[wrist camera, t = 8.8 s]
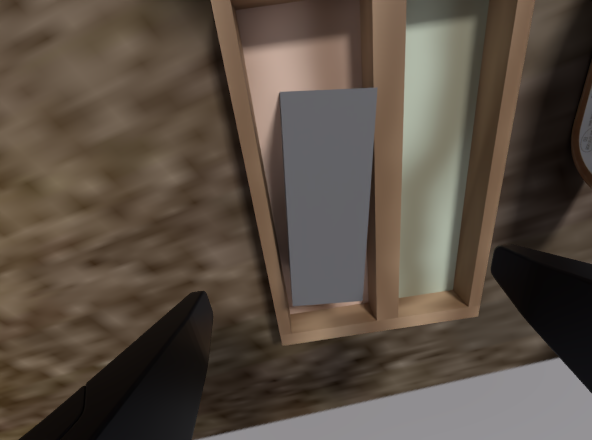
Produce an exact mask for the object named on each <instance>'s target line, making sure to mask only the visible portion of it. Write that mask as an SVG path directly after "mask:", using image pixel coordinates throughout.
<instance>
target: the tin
mask: <svg viewBox="0 0 592 440" xmlns="http://www.w3.org/2000/svg"><path fill="white" fill-rule="evenodd" d="M571 151H572V156H573V161H574V164H575V166H576V168H577V170H578V172H579V174H580V175H581V177H582V178H583V180H584V181H585V182H586V183H587V184H588V186H589V187H590V188H592V60H591V64H590V67H589V71H588V74H587V78H586V81H585V85H584V88H583V92H582V95H581V99H580V102H579V106H578V110H577V113H576V117H575V120H574V124H573V129H572V134H571Z"/></svg>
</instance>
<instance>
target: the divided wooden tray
mask: <svg viewBox="0 0 592 440" xmlns="http://www.w3.org/2000/svg"><path fill="white" fill-rule="evenodd" d="M534 4H535V0H211V5H212V9H213V14H214V19H215V24H216V29H217V33H218V38H219V43H220V48H221V53H222V57H223V62H224V67H225V72H226V77H227V82H228V86H229V91H230V96H231V101H232V106H233V110H234V115H235V120H236V125H237V130H238V134H239V139H240V144H241V149H242V154H243V158H244V163H245V168H246V173H247V178H248V183H249V187H250V192H251V197H252V202H253V207H254V211H255V216H256V221H257V226H258V231H259V235H260V240H261V245H262V250H263V255H264V260H265V264H266V269H267V274H268V279H269V284H270V288H271V293H272V298H273V303H274V308H275V312H276V317H277V322H278V327H279V332H280V337H281V341H282V346H284V345H291V344H297V343H304V342H311V341H317V340H324V339H331V338H337V337H344V336H351V335H357V334H364V333H371V332H377V331H384V330H390V329H397V328H404V327H410V326H417V325H424V324H430V323H437V322H444V321H450V320H457V319H464V318H470V317H477V316H478V313H479V308H480V302H481V297H482V291H483V286H484V280H485V275H486V269H487V264H488V258H489V253H490V247H491V242H492V236H493V231H494V225H495V220H496V214H497V208H498V203H499V197H500V192H501V186H502V181H503V175H504V170H505V164H506V159H507V153H508V148H509V142H510V137H511V131H512V126H513V120H514V115H515V109H516V104H517V98H518V93H519V87H520V81H521V76H522V70H523V65H524V59H525V54H526V48H527V43H528V37H529V32H530V26H531V21H532V15H533V10H534ZM377 87H378V89H377V103H376V117H375V132H374V146H373V160H372V175H371V189H370V203H369V217H368V232H367V246H366V260H365V274H364V289H363V301H355V302H342V303H330V304H317V305H304V306H293V304H292V291H291V279H290V266H289V250H288V233H287V217H286V200H285V184H284V167H283V151H282V134H281V118H280V101H279V93H280V92H287V91H309V90H332V89H354V88H377Z"/></svg>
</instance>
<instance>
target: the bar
mask: <svg viewBox="0 0 592 440" xmlns="http://www.w3.org/2000/svg"><path fill="white" fill-rule="evenodd" d="M377 89H378V87H377V88H354V89H332V90H309V91H287V92H280V93H279V101H280V118H281V134H282V151H283V167H284V184H285V200H286V217H287V233H288V250H289V266H290V279H291V291H292V304H293V306H304V305H317V304H330V303H342V302H355V301H363V289H364V274H365V260H366V246H367V232H368V217H369V203H370V189H371V175H372V160H373V146H374V132H375V117H376V103H377Z"/></svg>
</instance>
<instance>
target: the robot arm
mask: <svg viewBox="0 0 592 440" xmlns="http://www.w3.org/2000/svg"><path fill="white" fill-rule="evenodd" d="M491 273H492V275H493V277H494V278H495V280H496V281H497V283H498V284H499V285H500V287H501V288H502V289H503V291H504V292H505V293H506V295H507V296H508V297H509V299H510V300H511V301H512V303H513V304H514V305H515V307H516V308H517V309H518V311H519V312H520V313H521V314H522V316H523V317H524V318H525V319H526V321H527V322H528V323H529V324H530V325H531V326H532V327H533V329H534V330H535V331H536V332H537V333H538V334H539V335H540V336H541V337H542V339H543V340H544V341H545V342H546V343H547V344H548V345H549V346H550V347H551V349H552V350H553V351H554V352H555V353H556V354H557V355H558V356H559V357H560V359H561V360H562V361H563V362H564V363H565V364H566V365H567V366H568V367H569V369H570V370H571V371H572V372H573V373H574V374H575V375H576V376H577V377H578V379H579V380H580V381H581V382H582V383H583V384H584V385H585V386H586V387H587V389H588V390H589V391H590V392H591V393H592V264H589V263H585V262H581V261H577V260H573V259H569V258H565V257H561V256H557V255H553V254H549V253H545V252H541V251H537V250H533V249H529V248H525V247H521V246H517V245H513V244H507V245H500V246H497V247H496V248H495V249H494V253H493V258H492V264H491ZM212 325H213V311H212V308H211V305H210V302H209V299H208V296H207V294H206V292H205V291H198V292H192V293H190V294H189V295H188V296H187V297H185V298H184V299H183V300H182V301H181V302H180V303H178V304H177V305H176V306H175V307H174V308H173V309H171V310H170V311H169V312H168V313H167V314H166V315H165V316H163V317H162V318H161V319H160V320H159V321H158V322H156V323H155V324H154V325H153V326H152V327H151V328H150V329H148V330H147V331H146V332H145V333H144V334H143V335H141V336H140V337H139V338H138V339H137V340H136V341H134V342H133V343H132V344H131V345H130V346H129V347H128V348H126V349H125V350H124V351H123V352H122V353H121V354H119V355H118V356H117V357H116V358H115V359H114V360H112V361H111V362H110V363H109V364H108V365H107V366H106V367H104V368H103V369H102V370H101V371H100V372H99V373H97V374H96V375H95V376H94V377H93V378H92V379H91V380H89V381H88V382H87V383H86V386H82V387H81V388H80V389H79V390H78V391H77V392H75V393H74V394H73V395H72V396H71V397H70V398H68V399H67V400H66V401H65V402H64V403H63V404H61V405H60V406H59V407H58V408H57V409H55V410H54V411H53V412H52V413H51V414H50V415H48V416H47V417H46V418H45V419H44V420H42V421H41V422H40V423H39V424H37V425H36V426H35V427H34V428H32V429H31V430H30V431H29V432H27V433H26V434H25V435H24V436H22V437H21V438H20V439H19V440H192V435H193V431H194V426H195V422H196V417H197V413H198V409H199V404H200V400H201V395H202V391H203V386H204V382H205V378H206V373H207V368H208V361H209V352H210V343H211V334H212Z"/></svg>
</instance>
